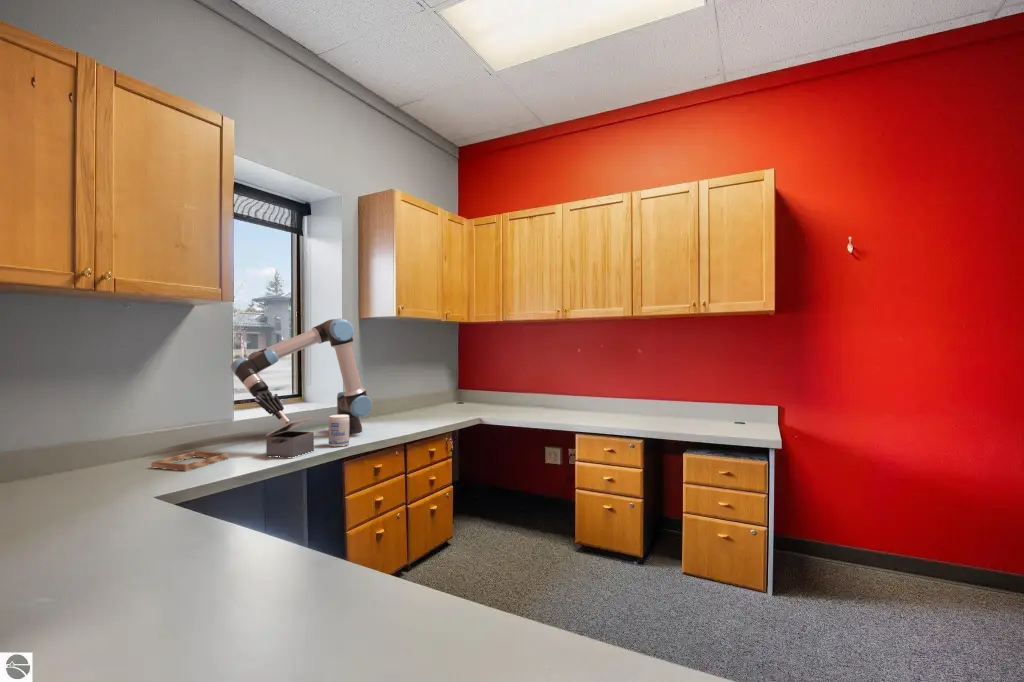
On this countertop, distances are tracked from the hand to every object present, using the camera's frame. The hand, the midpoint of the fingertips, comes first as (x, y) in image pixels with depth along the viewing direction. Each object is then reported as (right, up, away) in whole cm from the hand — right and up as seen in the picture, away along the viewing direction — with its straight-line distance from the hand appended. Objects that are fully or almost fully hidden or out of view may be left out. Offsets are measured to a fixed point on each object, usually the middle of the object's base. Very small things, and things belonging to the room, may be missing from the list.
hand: (286, 423), depth 220 cm
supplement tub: (+18, -14, +17) cm, 29 cm away
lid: (+2, -2, 0) cm, 2 cm away
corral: (-32, -14, -17) cm, 39 cm away
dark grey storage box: (+2, -14, -1) cm, 14 cm away
